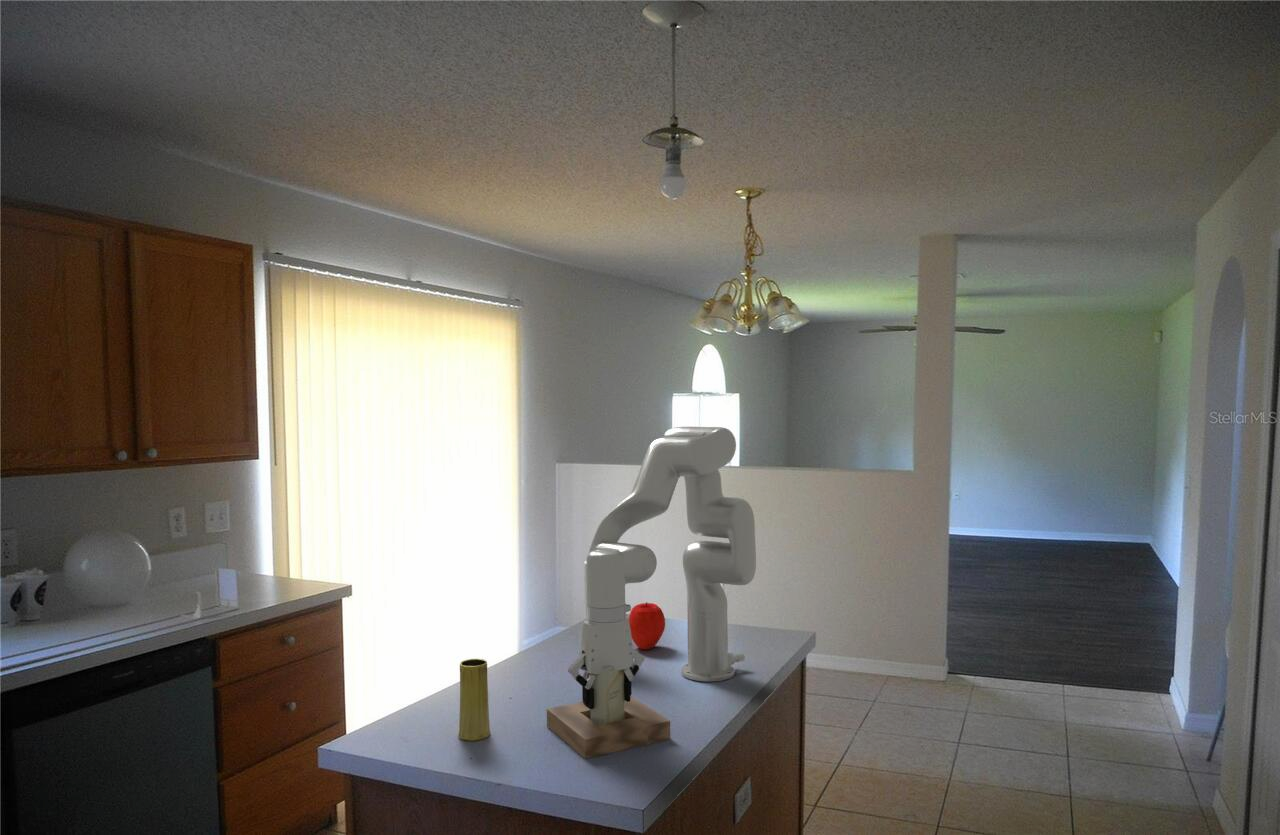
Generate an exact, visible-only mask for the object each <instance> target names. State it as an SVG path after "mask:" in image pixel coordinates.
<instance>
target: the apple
mask: <svg viewBox="0 0 1280 835" xmlns="http://www.w3.org/2000/svg"><path fill="white" fill-rule="evenodd" d="M629 612H630V613H629V616H628V621H629V625H630V630H631V636H632V642H634V644H635V645H636V647H637V648H638V649H640V650H642V651H643V650H650V649H651V650H652V649H653V648H654V647H655V646H656V645H657V644H658V642H659V641H660V639H661V638H662V636H663V634H664V631H665V627H666V619H665V618H666V617H665V615H664V612H663V610H662V608H661V607H659V606H658V605H657V604H656V603H653V602H652V603H651V602H647V601H646V602H644V603H639V604H636V605H634V606H633V607H631V611H629Z"/></svg>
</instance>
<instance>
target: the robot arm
mask: <svg viewBox="0 0 1280 835" xmlns="http://www.w3.org/2000/svg"><path fill="white" fill-rule="evenodd" d="M736 449H737V441H736V438H735V435H734V433H733V432H732V431H731V430H730V429H729V428H726V427H721V426H677V427H672V428H670V429H667V431H665V433H664V435H663V437H659V438H656V439H654V440H653V441H652V442H651V443H650V444H649V446H648V448H647V450H646V452H645V456H644V458H643V462H642V463H641V466H640V469H639V471H638V474H637V477H636V479H635V482H634V485H633V487H632V491H631V492H630V494H629V495H628V496H627V497H626V498H624V499H623V500H621V501H620V502H619V503H618V504H617V505H616V506H615V507H614V508H613V509H611V511H609V513H607V514H606V515H605V517H603V519H602V520H601V522H600V523H599V524H598V527H597V529H596V531H595V534H594V537H593V538H592V542H591V545H590V547H589V551H588V554H587V555H586V556H587V557H586V561H587V620H585V619H584V620H583V622H582V625H581V631H580V636H579V645H578V646H579V648H578V657H577V658H576V659H575V660H574V661H573V663H572V664H570V666H569V667H568V668H567V672H568V673H569V674H570V675H571V677H573V680H575V681H576V682H577V683H579V685H580V686H581V687H582V692H581V693H582V698H581V699H582V702H583V703H584V705H585V706H586V707H588V708H589V709H593V708H594V689H593V688H592V684H593V682H594V680H595V677H596V675H599V674H601V672H602V668H607V667H614V668H615V671H623V672H624V700H625V701H627V702H630V696H632V682H633V681H634V679H635V676H636V674H637V673H638V672H639V671H640V667H641V666H642V665H643V662H644V661H645V656H644V655H642V654H641V653H640V652H638V651H636V650H635V649H634V647H633V640H632V636H631V630H630V625H629V621H628V620H629V618H627V612H631V610H632V606H631V604H630V603H629V604H627V603H626V585H627V584H636V583H637V584H638V583H644V582H645V581H647V580H649V579H650V578H651V577H652V576H653V575H654V574H655V571H656V569H657V565H658V564H657V563H658V562H657V556H656V554H655V552H654V551H653V550H652V549H651V548H649V547H648V546H646V545H642V544H634V543H626V542H625V543H624V542H619V541H620V539H621V537H622V536H624V534H625V533H626V532H627V531H628V530H630V529H631V528H633V527H635V526H636V525H638V524H641V523H643V522H647V521H648V520H652V519H653V518H655V517H658V516H661V515H662V514H664V513H666V512H667V510H668V509H669V507H670V504H671V501H672V498H673V495H674V492H675V490H676V486H677V484H678V481H679V478H681V477H683V478H684V483H685V484H684V485H685V500H686V501H685V503H686V518H687V526H688V530H690V532H691V533H692V534H693V535H696V536H699V537H700V536H701V537H707V538H719V539H728V541H729V542H722V541H714V540H697V541H693V542H691V543H689V544H688V545H687V546H686V547H685V549H684V551H683V554H682V566H683V567H682V568H683V572H684V576H685V582H686V596H687V597H686V598H687V599H686V600H687V608H686V609H687V663H686V664H684V665H683V666H682V667H681V674H682V676H684V678H686V679H689V680H693V681H697V682H707V683H708V682H709V683H710V682H721V681H725V680H729V679H731V678H732V677H734V675H735V668H734V666H733V665H734V664H735V663H740V662H744V661H745V660H746V659H745V658H746V656H745V654H744V653H743V652H742V653H734V652H729V651H728V650H729V647H728V646H729V644H728V643H729V642H728V640H729V636H728V634H729V633H728V632H729V630H728V628H729V627H728V600H727V599H728V598H727V595H726V593H725V590H724V588H723V587H722V585H721V584H723V585H730V586H731V585H732V586H734V585H735V586H746V585H749V584H750V583H752V581H753V580H754V578H755V574H756V569H757V551H756V549H757V548H756V546H757V545H756V528H755V527H756V526H755V524H756V523H755V514H754V511H753V509H752V508H753V507H752V506H751V505H750V503H749V502H748V501H747V500H745V499H743V498H739V497H728V496H724V495H723V489H722V476H721V472H720V469H721V468H723V467H725V466H727V465H728V464H729V463H730V462H731V461H732V460H733V458H734V456H735V455H736ZM579 670H582V671H583V674H582V675H581V674H580V672H579Z"/></svg>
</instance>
